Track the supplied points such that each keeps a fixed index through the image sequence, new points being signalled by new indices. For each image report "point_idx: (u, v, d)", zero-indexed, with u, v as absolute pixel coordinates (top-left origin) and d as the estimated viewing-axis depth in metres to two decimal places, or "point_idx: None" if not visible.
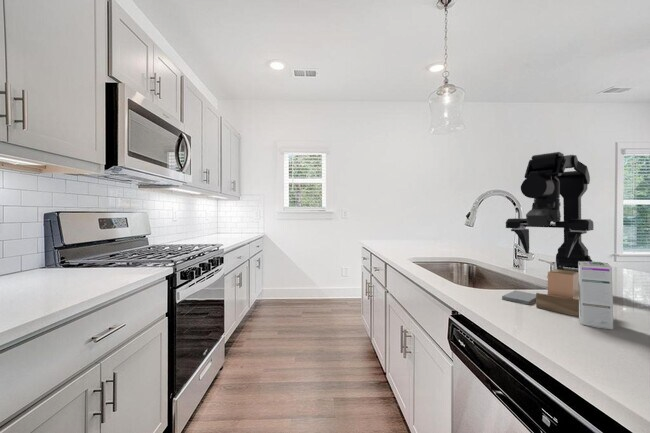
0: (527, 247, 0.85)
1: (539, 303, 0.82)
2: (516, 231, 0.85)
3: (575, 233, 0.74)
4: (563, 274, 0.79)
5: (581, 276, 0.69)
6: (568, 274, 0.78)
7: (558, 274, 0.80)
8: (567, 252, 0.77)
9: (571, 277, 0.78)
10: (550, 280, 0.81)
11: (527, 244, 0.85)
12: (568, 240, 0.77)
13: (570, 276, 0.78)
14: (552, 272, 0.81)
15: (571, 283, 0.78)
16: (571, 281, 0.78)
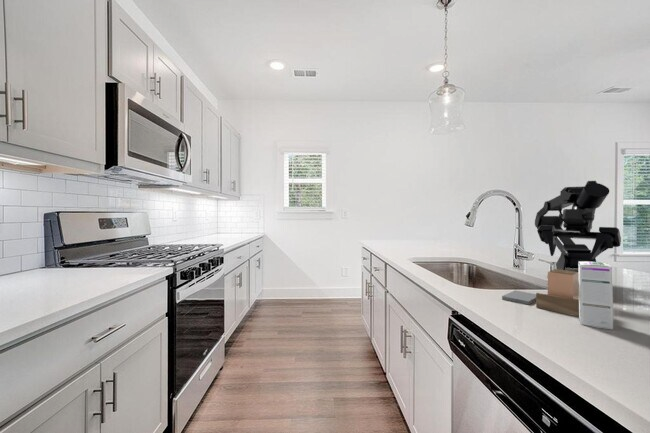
0: (553, 250, 0.90)
1: (539, 303, 0.82)
2: (547, 233, 0.92)
3: (604, 235, 0.82)
4: (563, 274, 0.79)
5: (581, 276, 0.69)
6: (568, 274, 0.78)
7: (558, 274, 0.80)
8: (592, 253, 0.82)
9: (571, 277, 0.78)
10: (550, 280, 0.81)
11: (553, 248, 0.91)
12: (596, 243, 0.83)
13: (570, 276, 0.78)
14: (552, 272, 0.81)
15: (571, 283, 0.78)
16: (571, 281, 0.78)
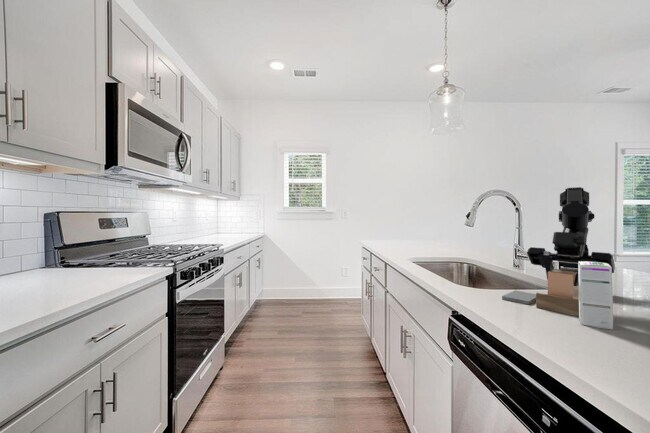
0: None
1: (539, 303, 0.82)
2: (543, 256, 0.86)
3: (589, 260, 0.78)
4: (563, 274, 0.79)
5: (581, 276, 0.69)
6: (568, 274, 0.78)
7: (558, 274, 0.80)
8: (576, 279, 0.78)
9: (571, 277, 0.78)
10: (550, 280, 0.81)
11: None
12: None
13: (570, 276, 0.78)
14: (552, 272, 0.81)
15: (571, 283, 0.78)
16: (571, 281, 0.78)
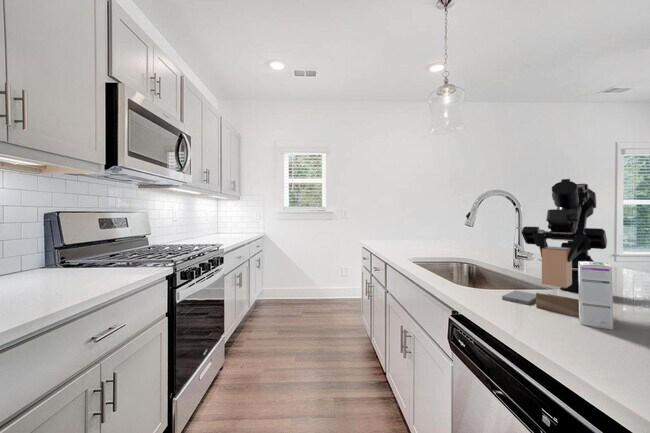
0: None
1: (539, 303, 0.82)
2: (538, 235, 0.87)
3: (582, 236, 0.79)
4: (557, 250, 0.80)
5: (581, 276, 0.69)
6: (562, 250, 0.80)
7: (552, 250, 0.81)
8: (569, 255, 0.80)
9: (564, 252, 0.79)
10: (544, 257, 0.83)
11: None
12: (573, 244, 0.80)
13: (563, 252, 0.79)
14: (546, 249, 0.82)
15: (564, 258, 0.79)
16: (564, 256, 0.79)
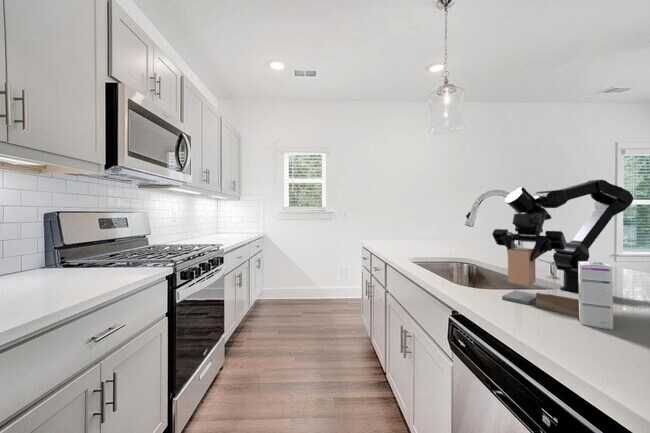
0: None
1: (539, 303, 0.82)
2: (506, 236, 0.95)
3: (543, 238, 0.87)
4: (520, 251, 0.88)
5: (581, 276, 0.69)
6: (524, 250, 0.87)
7: (516, 251, 0.89)
8: (532, 255, 0.87)
9: (527, 253, 0.87)
10: (510, 257, 0.90)
11: None
12: (535, 246, 0.88)
13: (526, 252, 0.87)
14: (511, 249, 0.90)
15: (527, 258, 0.87)
16: (527, 257, 0.87)
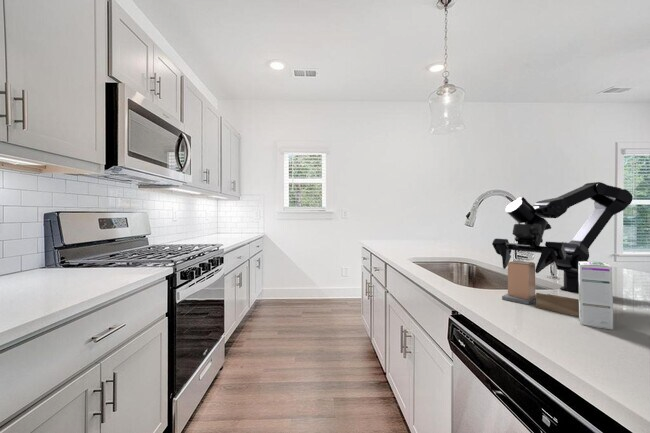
0: (505, 263, 0.93)
1: (539, 303, 0.82)
2: (501, 246, 0.96)
3: (548, 249, 0.86)
4: (520, 264, 0.88)
5: (581, 276, 0.69)
6: (524, 264, 0.87)
7: (516, 264, 0.89)
8: (537, 266, 0.86)
9: (527, 267, 0.87)
10: (510, 270, 0.90)
11: (506, 261, 0.94)
12: (541, 257, 0.87)
13: (526, 266, 0.87)
14: (511, 263, 0.90)
15: (527, 272, 0.87)
16: (527, 271, 0.87)
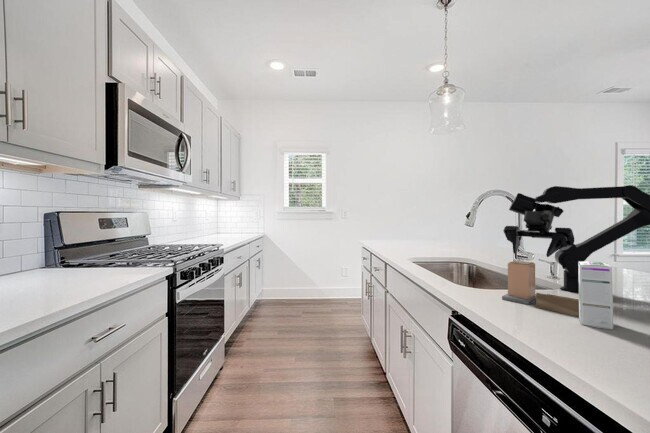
0: (516, 248, 0.99)
1: (539, 303, 0.82)
2: (511, 232, 1.01)
3: (559, 234, 0.91)
4: (520, 264, 0.88)
5: (581, 276, 0.69)
6: (524, 264, 0.87)
7: (516, 264, 0.89)
8: (548, 250, 0.91)
9: (527, 267, 0.87)
10: (510, 270, 0.90)
11: (516, 246, 1.00)
12: (552, 242, 0.92)
13: (526, 266, 0.87)
14: (511, 263, 0.90)
15: (527, 272, 0.87)
16: (527, 271, 0.87)
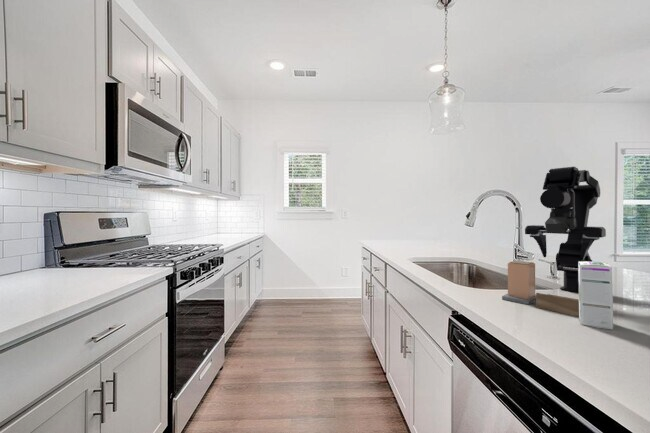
0: (545, 251, 0.94)
1: (539, 303, 0.82)
2: (535, 237, 0.94)
3: (589, 239, 0.84)
4: (520, 264, 0.88)
5: (581, 276, 0.69)
6: (524, 264, 0.87)
7: (516, 264, 0.89)
8: (582, 256, 0.87)
9: (527, 267, 0.87)
10: (510, 270, 0.90)
11: (545, 249, 0.95)
12: (583, 245, 0.86)
13: (526, 266, 0.87)
14: (511, 263, 0.90)
15: (527, 272, 0.87)
16: (527, 271, 0.87)
